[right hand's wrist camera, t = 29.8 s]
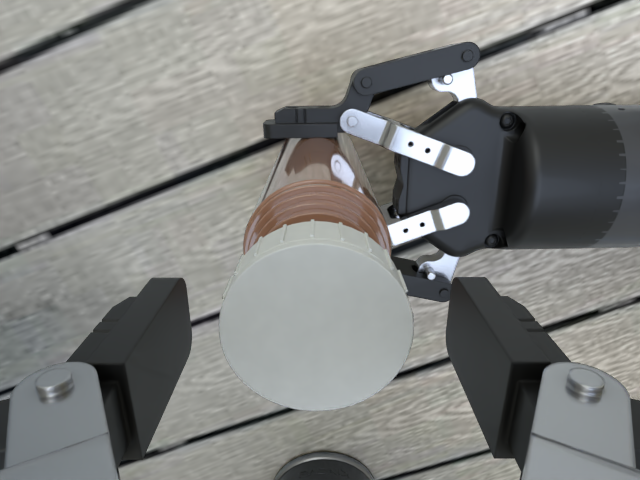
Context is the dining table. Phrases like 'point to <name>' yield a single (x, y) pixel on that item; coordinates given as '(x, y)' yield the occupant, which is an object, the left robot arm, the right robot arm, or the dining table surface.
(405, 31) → the dining table surface
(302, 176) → the bottle
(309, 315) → the cap
